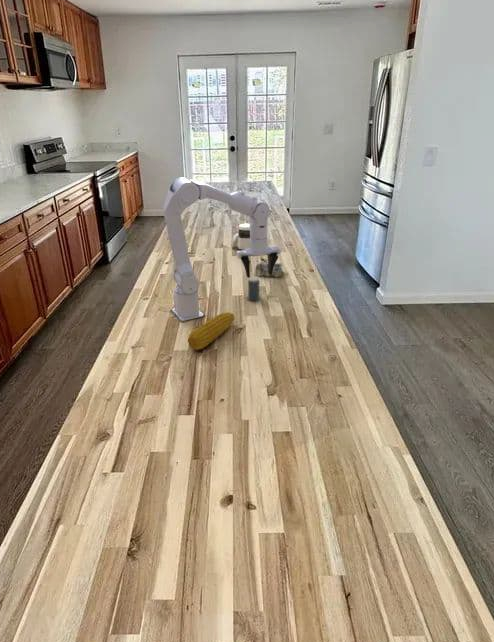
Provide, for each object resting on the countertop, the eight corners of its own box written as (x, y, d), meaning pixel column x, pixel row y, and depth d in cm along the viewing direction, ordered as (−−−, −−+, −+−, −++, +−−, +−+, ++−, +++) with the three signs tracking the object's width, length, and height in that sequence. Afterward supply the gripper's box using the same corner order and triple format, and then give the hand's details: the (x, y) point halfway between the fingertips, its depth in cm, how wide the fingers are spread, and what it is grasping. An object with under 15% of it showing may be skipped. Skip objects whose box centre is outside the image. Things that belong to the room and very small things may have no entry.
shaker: (246, 297, 156) (245, 277, 153) (255, 295, 158) (255, 275, 155) (251, 302, 153) (251, 281, 150) (261, 299, 155) (261, 279, 151)
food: (201, 355, 123) (200, 337, 120) (185, 350, 125) (184, 332, 123) (238, 323, 139) (238, 307, 136) (223, 320, 142) (222, 303, 139)
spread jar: (255, 253, 199) (255, 228, 194) (230, 253, 199) (229, 228, 194) (254, 244, 210) (254, 221, 205) (230, 245, 210) (230, 221, 205)
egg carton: (254, 276, 174) (254, 266, 173) (257, 269, 181) (257, 260, 179) (280, 277, 172) (281, 268, 171) (282, 270, 179) (282, 261, 177)
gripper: (276, 231, 148) (276, 268, 154) (234, 235, 146) (236, 273, 152) (282, 237, 142) (281, 276, 148) (239, 242, 140) (240, 280, 146)
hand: (259, 275), depth 149 cm, fingers open, 7 cm apart
